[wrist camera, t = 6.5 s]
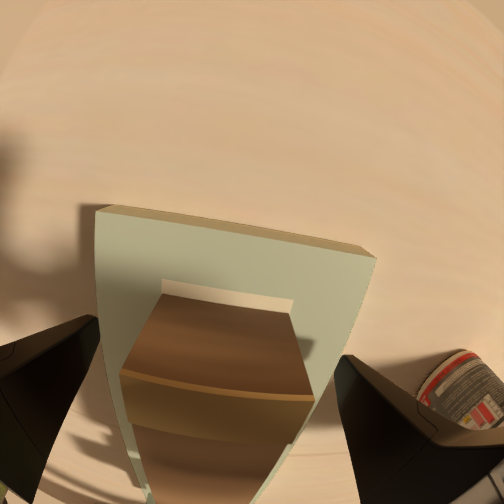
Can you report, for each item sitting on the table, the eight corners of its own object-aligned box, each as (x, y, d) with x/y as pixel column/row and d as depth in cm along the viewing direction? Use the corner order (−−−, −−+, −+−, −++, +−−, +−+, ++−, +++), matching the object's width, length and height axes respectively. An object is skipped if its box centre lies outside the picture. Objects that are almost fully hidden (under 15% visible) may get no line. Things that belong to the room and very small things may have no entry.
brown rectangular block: (237, 466, 13) (238, 520, 9) (166, 456, 13) (156, 510, 9) (288, 313, 9) (315, 400, 5) (162, 293, 9) (118, 373, 5)
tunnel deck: (245, 503, 19) (247, 553, 12) (149, 490, 18) (140, 540, 11) (360, 246, 10) (474, 338, 4) (113, 204, 10) (-19, 261, 3)
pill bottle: (401, 395, 14) (464, 510, 4) (464, 334, 13) (552, 429, 3) (427, 414, 15) (476, 501, 6) (478, 365, 14) (542, 441, 4)
